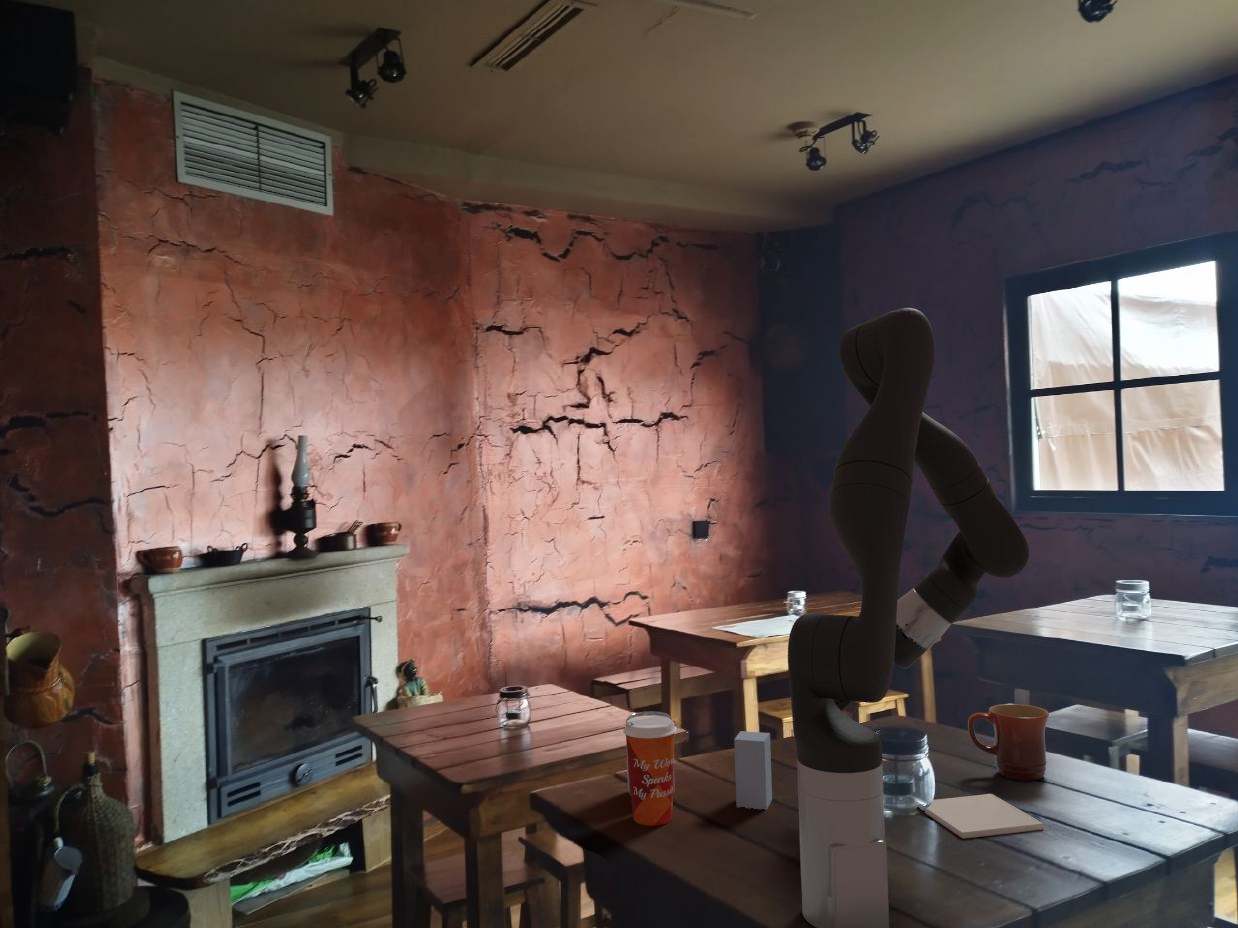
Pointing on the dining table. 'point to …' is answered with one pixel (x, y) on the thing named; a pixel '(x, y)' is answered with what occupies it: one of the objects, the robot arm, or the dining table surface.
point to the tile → (981, 816)
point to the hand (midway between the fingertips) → (830, 704)
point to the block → (753, 770)
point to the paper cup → (651, 768)
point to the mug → (1015, 740)
